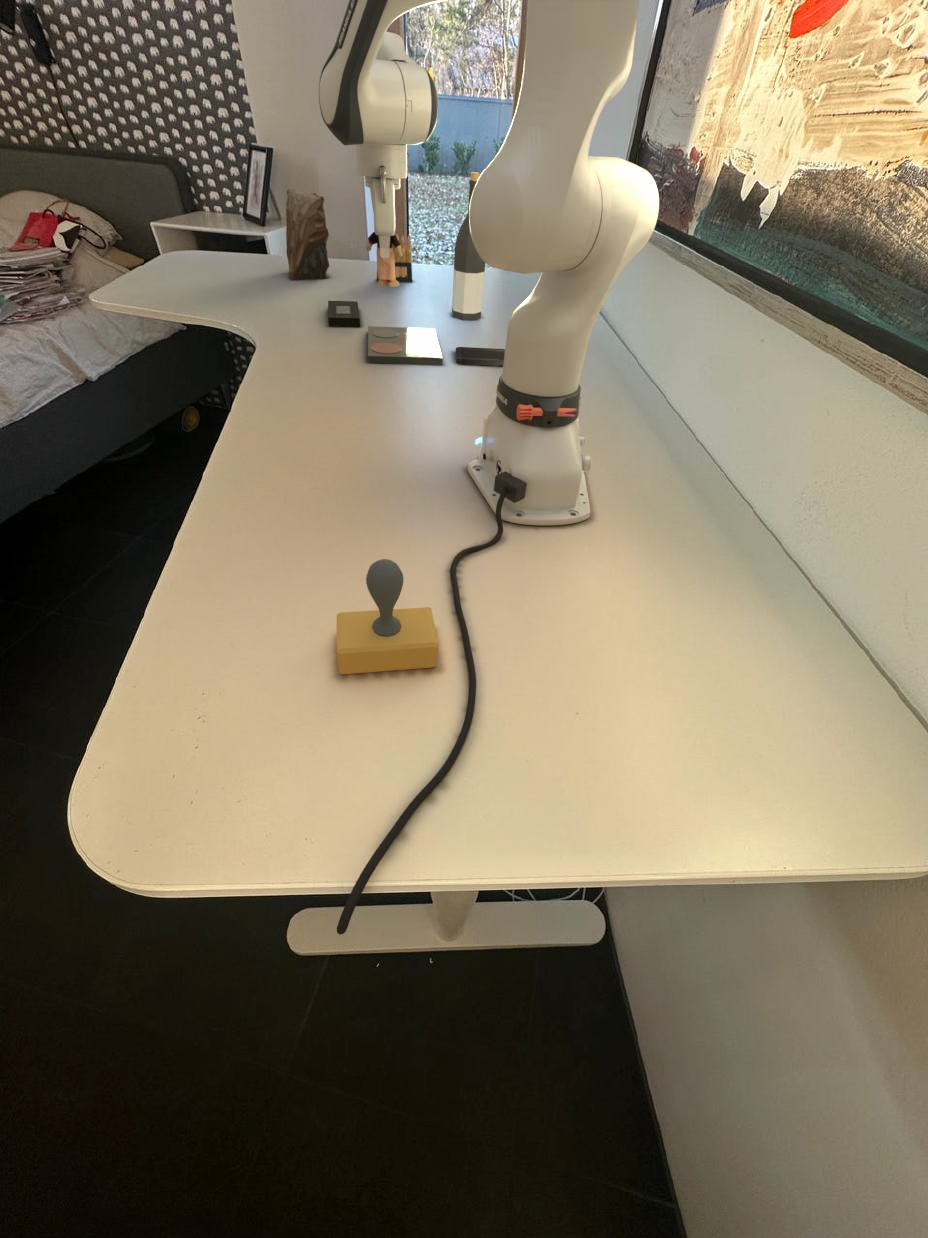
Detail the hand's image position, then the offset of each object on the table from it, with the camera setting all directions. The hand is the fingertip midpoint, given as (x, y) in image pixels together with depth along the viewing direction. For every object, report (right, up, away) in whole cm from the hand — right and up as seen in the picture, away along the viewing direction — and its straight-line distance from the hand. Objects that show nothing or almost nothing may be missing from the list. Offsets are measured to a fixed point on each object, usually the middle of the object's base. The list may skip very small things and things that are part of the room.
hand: (384, 254), depth 107 cm
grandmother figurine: (0, -4, +4) cm, 5 cm away
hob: (+2, -9, +18) cm, 20 cm away
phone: (+21, -13, +16) cm, 30 cm away
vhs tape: (-15, +4, +31) cm, 35 cm away
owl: (-33, +32, +58) cm, 73 cm away
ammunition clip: (-6, +32, +61) cm, 69 cm away
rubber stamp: (+7, -75, -49) cm, 90 cm away
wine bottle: (+16, +10, +40) cm, 44 cm away
